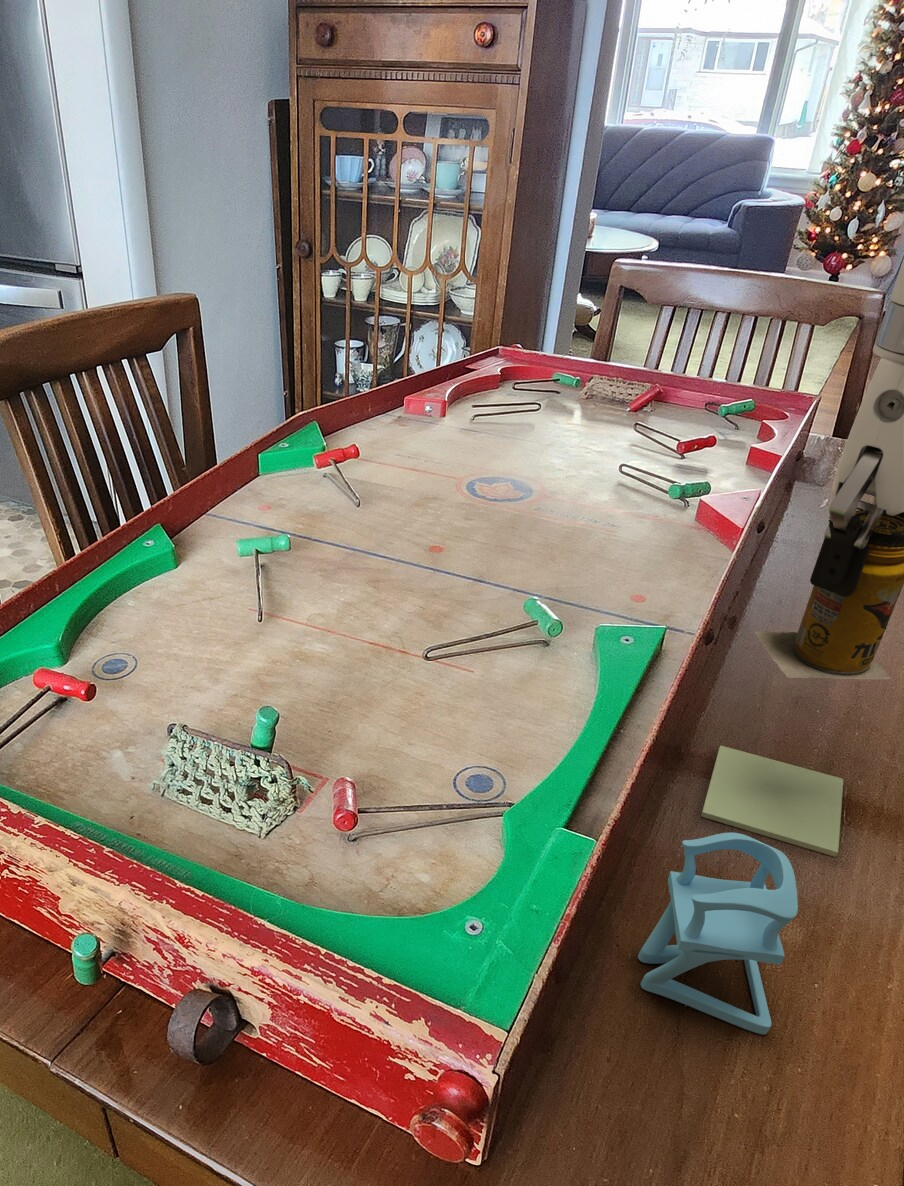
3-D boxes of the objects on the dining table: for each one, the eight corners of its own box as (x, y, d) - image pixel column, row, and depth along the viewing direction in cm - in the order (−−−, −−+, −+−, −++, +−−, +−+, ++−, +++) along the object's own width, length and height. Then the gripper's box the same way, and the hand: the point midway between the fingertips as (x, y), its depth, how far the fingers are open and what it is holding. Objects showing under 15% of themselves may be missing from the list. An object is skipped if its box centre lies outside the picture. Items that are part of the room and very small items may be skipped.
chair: (634, 931, 68) (670, 810, 61) (749, 948, 67) (798, 827, 60) (643, 1016, 62) (683, 892, 55) (769, 1036, 61) (827, 912, 54)
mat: (718, 749, 87) (720, 744, 87) (841, 783, 84) (843, 778, 83) (700, 816, 79) (702, 811, 79) (836, 857, 75) (838, 852, 75)
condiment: (891, 680, 72) (950, 540, 66) (787, 679, 72) (835, 538, 65) (849, 635, 78) (899, 503, 72) (752, 634, 78) (793, 501, 71)
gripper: (950, 366, 54) (848, 629, 65) (1043, 330, 64) (941, 564, 74) (828, 341, 59) (751, 591, 69) (932, 311, 68) (851, 534, 79)
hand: (850, 575), depth 71 cm, fingers closed on condiment, 6 cm apart
